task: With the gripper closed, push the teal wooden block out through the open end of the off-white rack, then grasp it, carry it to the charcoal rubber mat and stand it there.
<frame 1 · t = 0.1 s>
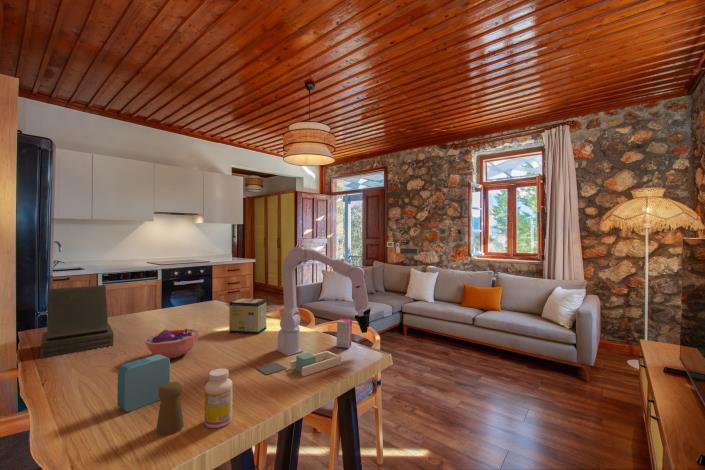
hand: (365, 329, 133), 10 cm above the table, tool pointing down, fingers open, 7 cm apart
dark stepped-base plaque: (78, 347, 142), on the table
block: (305, 369, 118), on the table
rack: (315, 366, 121), on the table
supplement bottle: (218, 422, 84), on the table
mat: (271, 368, 119), on the table
cell model: (172, 356, 131), on the table
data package: (144, 403, 94), on the table
supplement box: (344, 347, 144), on the table
protein box: (248, 331, 167), on the table
brown pepper mill: (170, 429, 81), on the table
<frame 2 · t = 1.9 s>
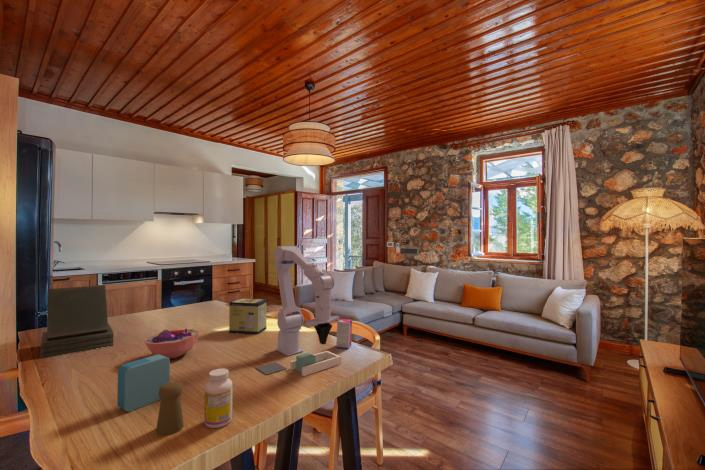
hand: (322, 343, 123), 8 cm above the table, tool pointing down, fingers closed
nothing on the table moved.
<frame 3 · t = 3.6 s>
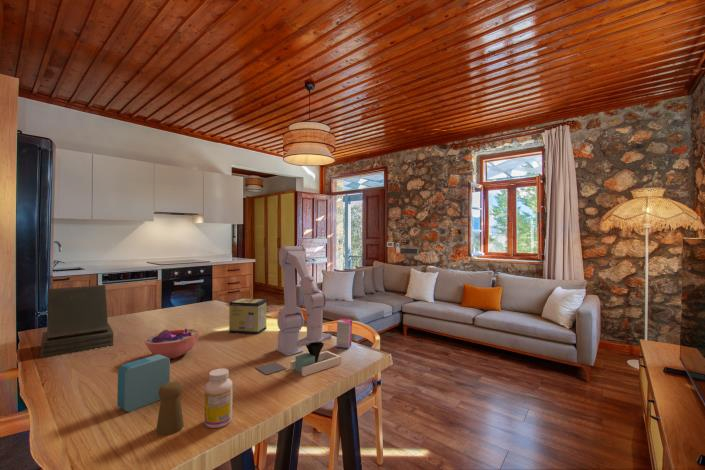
hand: (314, 362, 121), 2 cm above the table, tool pointing down, fingers closed
block: (305, 369, 118), on the table, touching gripper
everything else where it was.
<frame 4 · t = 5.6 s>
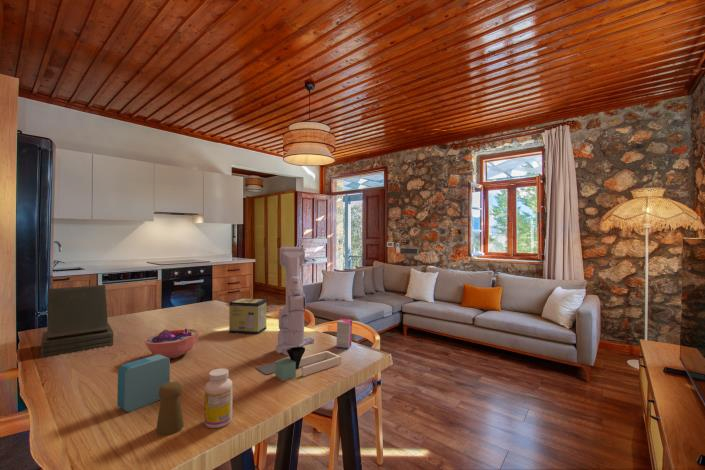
hand: (295, 368, 115), 2 cm above the table, tool pointing down, fingers closed
block: (285, 376, 113), on the table, touching gripper
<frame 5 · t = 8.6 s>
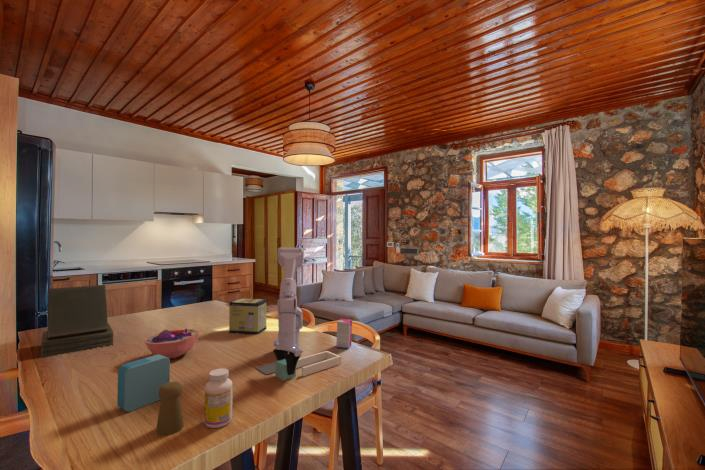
hand: (286, 371, 113), 1 cm above the table, tool pointing down, fingers closed on block, 5 cm apart
block: (285, 376, 113), on the table, touching gripper
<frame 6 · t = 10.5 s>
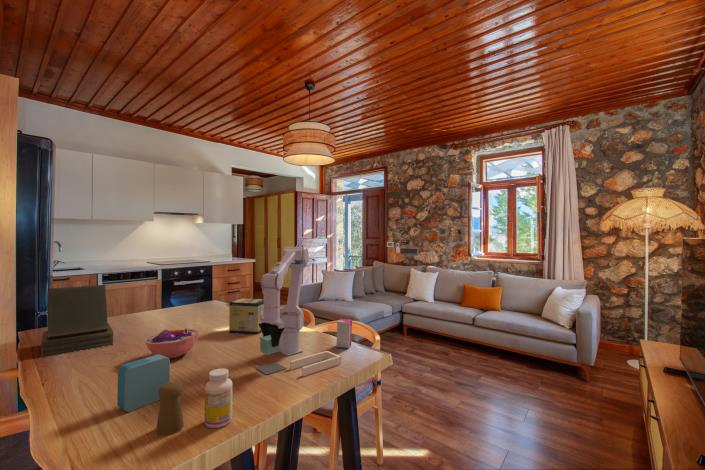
hand: (271, 344, 119), 9 cm above the table, tool pointing down, fingers closed on block, 5 cm apart
block: (270, 351, 119), point 6 cm above the table, touching gripper
when the fingers open (3 cm above the table, at t = 12.1 s): block stays where it is, resting on mat.
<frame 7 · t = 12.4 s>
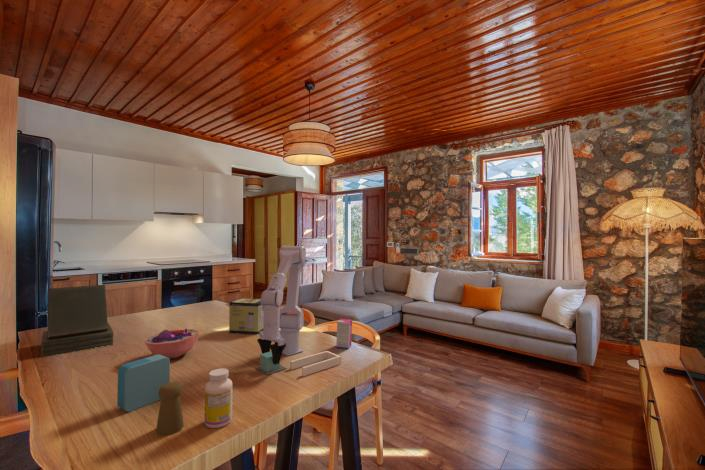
hand: (271, 360, 119), 3 cm above the table, tool pointing down, fingers open, 7 cm apart
block: (269, 368, 119), resting on mat
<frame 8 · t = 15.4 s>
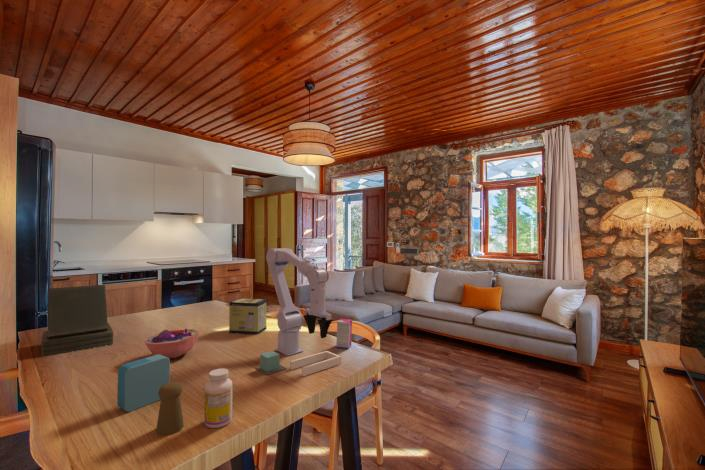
hand: (317, 335, 127), 10 cm above the table, tool pointing down, fingers open, 7 cm apart
at the end: block inside the target area on the mat (0.5 cm from its centre), point 0.3 cm above the mat's base; block tilted 0°; the gripper is holding nothing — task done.
